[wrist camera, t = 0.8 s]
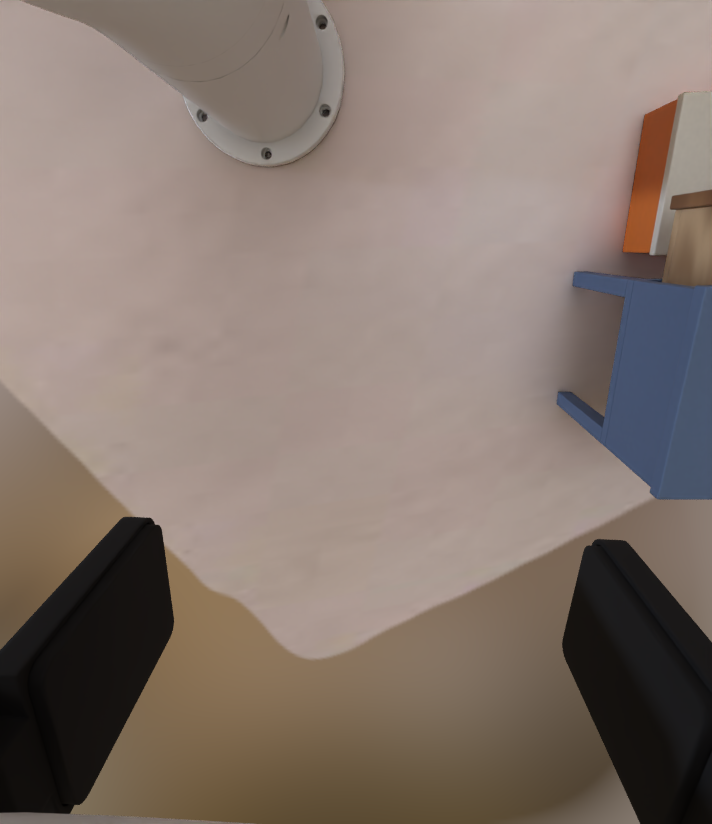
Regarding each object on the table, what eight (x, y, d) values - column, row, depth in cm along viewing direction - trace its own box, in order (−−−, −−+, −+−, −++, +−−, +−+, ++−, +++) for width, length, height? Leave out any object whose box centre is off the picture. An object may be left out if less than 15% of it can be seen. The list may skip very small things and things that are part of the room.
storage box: (642, 112, 36) (684, 91, 31) (748, 108, 35) (806, 87, 30) (619, 254, 39) (653, 255, 34) (715, 251, 39) (763, 253, 34)
